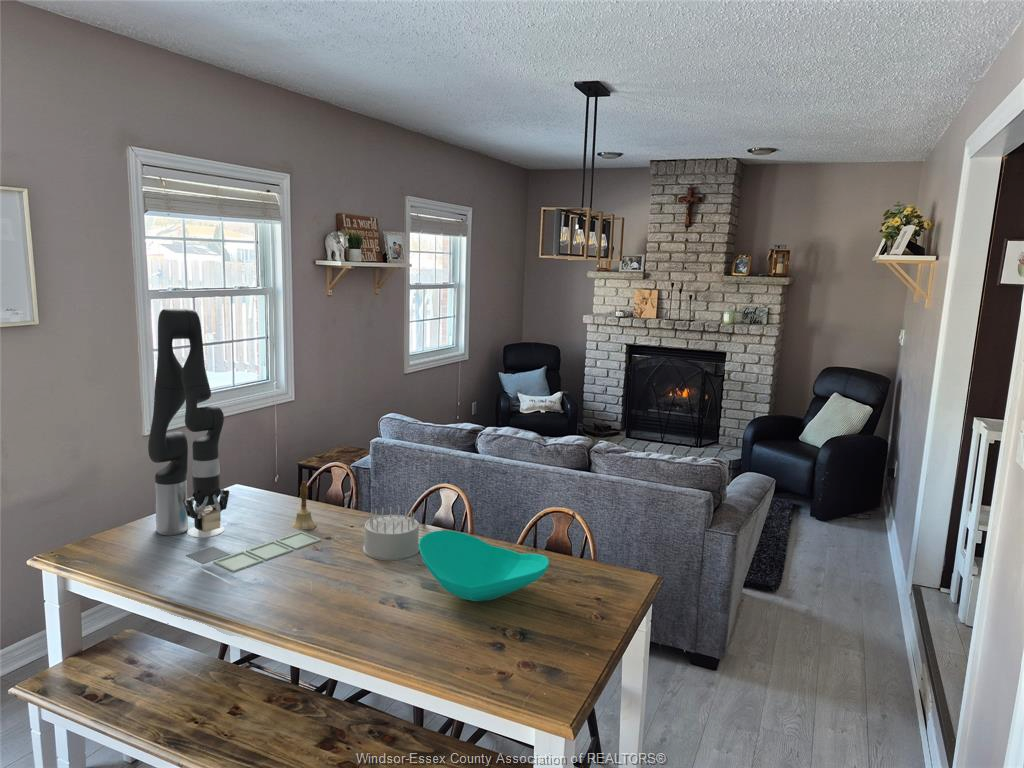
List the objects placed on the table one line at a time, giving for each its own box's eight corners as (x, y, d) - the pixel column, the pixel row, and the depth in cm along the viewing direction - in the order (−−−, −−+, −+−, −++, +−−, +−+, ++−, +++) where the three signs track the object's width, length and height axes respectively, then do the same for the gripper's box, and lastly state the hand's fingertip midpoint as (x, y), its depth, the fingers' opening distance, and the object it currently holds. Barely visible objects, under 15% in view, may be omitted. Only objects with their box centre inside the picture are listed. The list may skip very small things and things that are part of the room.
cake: (410, 563, 218) (411, 522, 216) (354, 557, 220) (354, 516, 218) (426, 541, 235) (427, 503, 233) (374, 536, 238) (375, 498, 236)
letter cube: (195, 528, 213) (195, 512, 213) (210, 523, 217) (210, 508, 217) (205, 532, 211) (204, 516, 210) (220, 527, 215) (219, 511, 214)
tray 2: (246, 553, 219) (246, 549, 219) (273, 543, 228) (273, 540, 227) (265, 561, 214) (265, 558, 214) (293, 552, 222) (293, 548, 222)
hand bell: (289, 523, 245) (289, 479, 243) (314, 521, 249) (314, 477, 246) (293, 532, 238) (293, 486, 235) (318, 529, 241) (318, 484, 239)
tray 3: (276, 542, 228) (276, 539, 228) (301, 534, 236) (301, 531, 236) (295, 551, 223) (295, 548, 223) (321, 541, 231) (321, 538, 231)
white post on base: (189, 525, 239) (188, 482, 237) (225, 523, 243) (225, 481, 240) (185, 539, 228) (183, 494, 225) (222, 536, 231) (221, 492, 229)
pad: (185, 557, 214) (185, 555, 214) (213, 548, 222) (213, 546, 222) (202, 565, 209) (202, 563, 209) (230, 556, 217) (230, 554, 217)
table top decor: (394, 593, 198) (395, 549, 195) (451, 560, 221) (453, 520, 219) (516, 636, 178) (519, 587, 176) (565, 595, 202) (568, 551, 199)
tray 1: (213, 564, 211) (213, 560, 210) (243, 553, 219) (243, 550, 219) (233, 573, 205) (233, 570, 205) (263, 562, 213) (263, 559, 213)
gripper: (220, 465, 219) (222, 517, 222) (176, 475, 208) (178, 530, 210) (235, 470, 215) (236, 523, 218) (190, 480, 203) (192, 536, 206)
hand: (207, 526), depth 214 cm, fingers closed on letter cube, 5 cm apart
